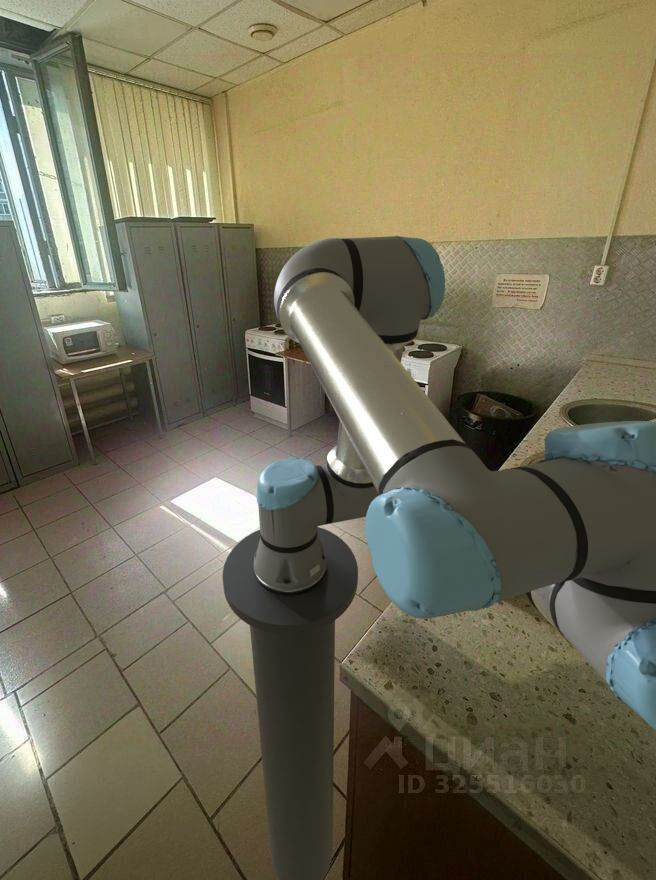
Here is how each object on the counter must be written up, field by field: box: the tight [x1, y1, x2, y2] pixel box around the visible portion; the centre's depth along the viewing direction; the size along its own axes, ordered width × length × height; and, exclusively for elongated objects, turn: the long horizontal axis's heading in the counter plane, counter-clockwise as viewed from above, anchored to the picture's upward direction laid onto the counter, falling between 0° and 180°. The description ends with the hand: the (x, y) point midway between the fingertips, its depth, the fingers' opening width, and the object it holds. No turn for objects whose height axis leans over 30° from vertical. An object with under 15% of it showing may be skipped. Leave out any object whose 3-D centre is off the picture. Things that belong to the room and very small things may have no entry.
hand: (486, 521), depth 60 cm, fingers closed
